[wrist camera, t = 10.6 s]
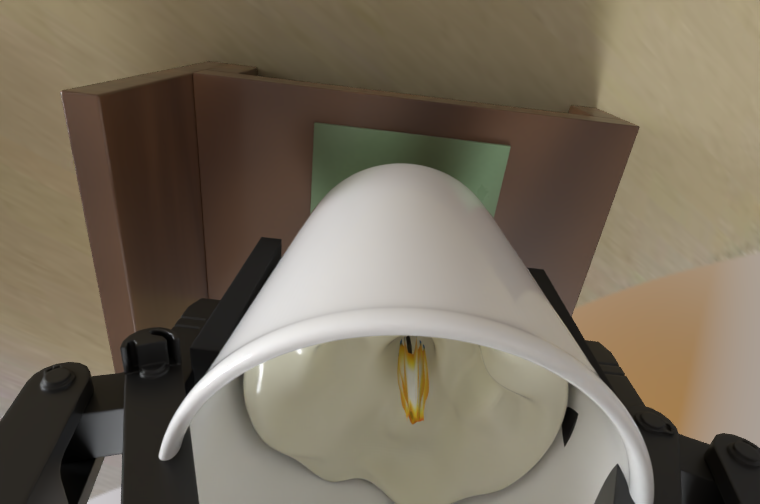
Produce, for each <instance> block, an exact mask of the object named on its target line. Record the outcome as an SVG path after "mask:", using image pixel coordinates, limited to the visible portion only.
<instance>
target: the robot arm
mask: <svg viewBox="0 0 760 504" xmlns="http://www.w3.org/2000/svg"><path fill="white" fill-rule="evenodd" d="M281 249H282V239H276V238H267V237H261V238H260V240H259V241H258V243H257V245H256V246H255V248H254V249H253V251H252V252H251V254H250V255H249V257H248V258H247V260H246V261H245V263H244V265H243V266H242V268H241V269H240V271H239V272H238V274H237V275H236V277H235V278H234V280H233V282H232V283H231V285H230V286H229V288H228V289H227V291H226V292H225V294H224V295H223V297H222V298H221V300H216V299H207V298H201V299H199V300H198V301H196V302H194V303H193V304H191V305H190V306H188V308H187V309H186V310H185V312H184V313H183V314H182V316H181V318H179V320H178V321H177V322H176V324H175V327H174V326H173V328H172V329H168V328H163V327H153V328H146V329H143V330H139V331H137V332H135V333H133V334H131V335H129V336H128V337H127V338H126V339H125V340H124V341H123V342H122V344H121V347H120V351H121V357H122V362H123V368H124V372H122V373H116V374H109V375H100V376H91V374H90V371H89V369H88V368H87V366H85V365H83V364H81V363H74V362H66V363H60V364H55V365H52V366H50V367H47V368H44V369H42V370H41V371H39V372H37V373H36V374H34V375H33V376H32V377H31V378H30V379H29V380H28V381H27V382H26V384H25V385H24V387H23V388H22V390H21V391H20V393H19V394H18V396H17V397H16V399H15V400H14V402H13V403H12V405H11V406H10V408H9V409H8V411H7V412H6V414H5V415H4V417H3V418H2V420H1V421H0V504H87V502H88V499H89V496H90V494H91V491H92V489H93V486H94V483H95V481H96V478H97V476H98V473H99V470H100V468H101V465H102V463H103V460H104V457H105V456H111V455H117V454H122V483H121V504H199V497H198V489H197V481H196V473H195V465H194V456H193V448H192V440H191V432H190V425H189V427H188V429H187V431H186V433H185V436H184V439H183V442H182V445H181V448H180V449H179V451H178V453H177V454H176V455H175V456H174V457H173V458H171V459H170V460H166V461H163V460H160V459H159V451H160V447H161V444H162V440H163V438H164V435H165V432H166V430H167V428H168V425H169V423H170V421H171V419H172V418H173V416H174V414H175V412H176V411H177V409H178V407H179V406H180V404H181V403H182V401H183V400H184V399H185V397H186V396H187V395H188V393H189V392H190V391H191V390H192V388H193V387H194V386H195V385H196V384H197V383H198V382H199V381H200V380H201V378H202V377H203V376H204V375H205V373H206V372H207V371H208V369H209V368H210V366H211V365H212V363H213V361H214V360H215V358H216V357H217V355H218V354H219V352H220V351H221V349H222V348H223V346H224V345H225V343H226V342H227V340H228V339H229V337H230V336H231V334H232V332H233V331H234V329H235V328H236V326H237V325H238V323H239V322H240V320H241V319H242V317H243V316H244V314H245V313H246V311H247V310H248V308H249V306H250V305H251V303H252V302H253V300H254V299H255V297H256V296H257V294H258V293H259V291H260V290H261V288H262V287H263V285H264V283H265V282H266V280H267V279H268V277H269V276H270V274H271V273H272V271H273V270H274V268H275V267H276V265H277V264H278V262H279V260H280V259H281ZM528 270H529V271H530V273H531V274H532V276H533V277H534V279H535V280H536V282H537V283H538V285H539V286H540V288H541V289H542V291H543V292H544V294H545V295H546V297H547V298H548V300H549V301H550V303H551V304H552V306H553V307H554V309H555V310H556V312H557V313H558V315H559V316H560V318H561V319H562V321H563V322H564V324H565V325H566V327H567V328H568V330H569V331H570V333H571V334H572V336H573V337H574V339H575V340H576V342H577V343H578V345H579V346H580V348H581V349H582V351H583V352H584V354H585V355H586V357H587V358H588V360H589V361H590V363H591V364H592V366H593V367H594V369H595V370H596V372H597V373H598V375H599V376H600V378H601V379H602V380H603V382H604V383H605V384H606V385H607V386H608V387H609V388H610V389H611V390H612V391H613V392H614V394H615V395H616V396H617V397H618V398H619V400H620V401H621V402H622V403H623V405H624V406H625V407H626V409H627V410H628V412H629V413H630V415H631V416H632V418H633V420H634V421H635V423H636V425H637V427H638V429H639V430H640V433H641V435H642V437H643V439H644V441H645V444H646V447H647V449H648V452H649V456H650V459H651V464H652V468H653V475H654V503H653V504H760V448H759V447H757V446H756V445H755V444H753V443H751V442H750V441H748V440H746V439H744V438H741V437H738V436H735V435H732V434H725V433H722V434H718V435H716V436H715V438H714V439H713V441H712V442H711V444H710V445H709V444H707V443H704V442H700V441H698V440H695V439H691V438H689V437H686V436H683V435H680V434H678V431H677V428H676V427H675V426H674V425H673V424H672V422H671V421H670V420H669V419H668V418H666V417H665V416H664V415H663V414H661V413H659V412H657V411H655V410H654V409H651V408H649V407H646V406H645V405H644V403H643V402H642V400H641V399H640V397H639V395H638V394H637V392H636V391H635V389H634V388H633V386H632V385H631V383H630V381H629V380H628V378H627V377H626V376H625V374H624V372H623V371H622V369H621V367H619V365H618V363H617V361H616V359H615V358H614V356H613V355H612V353H611V352H610V351H609V350H607V349H606V348H605V347H604V346H603V345H602V344H600V343H599V342H595V341H586V340H584V338H583V336H582V334H581V333H580V331H579V329H578V327H577V326H576V324H575V322H574V321H573V319H572V317H571V315H570V314H569V312H568V310H567V308H566V307H565V305H564V303H563V302H562V300H561V298H560V296H559V295H558V293H557V291H556V290H555V288H554V286H553V284H552V283H551V281H550V279H549V278H548V276H547V274H546V272H545V271H544V269H536V268H528ZM577 418H578V413H577V412H576V411H575V410H574V409H572V408H570V407H567V408H566V412H565V416H564V419H563V422H562V435H563V442H564V447H565V446H566V444H567V442H568V440H569V439H570V437H571V434H572V432H573V430H574V427H575V424H576V421H577ZM594 504H635V502H634V501H633V499H632V497H631V495H630V493H629V488H628V484H627V481H626V479H625V477H624V474H623V472H622V470H621V468H620V466H619V465H618V463H617V464H616V465H615V467H614V468H613V469H612V470H611V472H610V473H609V475H608V477H607V478H606V480H605V482H604V484H603V486H602V488H601V490H600V492H599V494H598V496H597V498H596V500H595V503H594Z"/></svg>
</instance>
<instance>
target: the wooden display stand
mask: <svg viewBox="0 0 760 504" xmlns="http://www.w3.org/2000/svg"><path fill="white" fill-rule="evenodd" d="M61 98H62V103H63V108H64V113H65V119H66V124H67V129H68V134H69V139H70V144H71V149H72V154H73V159H74V164H75V170H76V175H77V180H78V185H79V190H80V195H81V200H82V205H83V210H84V216H85V221H86V226H87V231H88V236H89V241H90V246H91V251H92V256H93V262H94V267H95V272H96V277H97V282H98V287H99V292H100V297H101V302H102V308H103V313H104V318H105V323H106V328H107V333H108V338H109V343H110V348H111V354H112V359H113V364H114V369H115V374H116V373H122V372H124V368H123V362H122V357H121V351H120V347H121V344H122V342H123V341H124V340H125V339H126V338H127V337H128V336H129V335H131V334H133V333H135V332H137V331H139V330H143V329H146V328H153V327H163V328H168V329H172V328H173V326H174V327H175V324H176V322H177V321H178V320H179V318H181V316H182V314H183V313H184V312H185V310H186V309H187V308H188V306H190V305H191V304H193V303H194V302H196V301H198V300H199V299H201V298H207V299H216V300H221V298H222V297H223V295H224V294H225V292H226V291H227V289H228V288H229V286H230V285H231V283H232V282H233V280H234V278H235V277H236V275H237V274H238V272H239V271H240V269H241V268H242V266H243V265H244V263H245V261H246V260H247V258H248V257H249V255H250V254H251V252H252V251H253V249H254V248H255V246H256V245H257V243H258V241H259V240H260V238H261V237H267V238H276V239H282V249H281V257H282V256H283V254H284V253H285V251H286V250H287V248H288V247H289V245H290V244H291V242H292V241H293V239H294V238H295V236H296V235H297V233H298V232H299V230H300V228H301V227H302V225H303V224H304V223H305V221H306V220H307V218H308V217H309V215H310V214H311V212H312V211H313V210H314V208H315V207H316V205H317V204H318V203H319V202H320V200H321V199H322V198H323V197H324V196H325V195H326V194H327V193H328V192H329V191H330V190H331V189H332V188H333V187H335V186H336V185H337V184H338V183H340V182H341V181H343V180H344V179H346V178H347V177H349V176H351V175H353V174H355V173H357V172H359V171H362V170H365V169H367V168H371V167H374V166H379V165H384V164H393V163H408V164H417V165H422V166H427V167H430V168H434V169H436V170H439V171H442V172H444V173H446V174H448V175H450V176H452V177H454V178H455V179H457V180H458V181H460V182H461V183H463V184H464V185H465V186H466V187H468V188H469V189H470V190H471V191H472V192H473V193H474V194H475V195H476V196H477V197H478V198H479V199H480V200H481V202H482V203H483V204H484V205H485V207H486V208H487V209H488V211H489V212H490V213H491V215H492V216H493V218H494V219H495V221H496V222H497V224H498V225H499V226H500V228H501V229H502V231H503V232H504V234H505V235H506V237H507V238H508V240H509V241H510V243H511V244H512V246H513V247H514V249H515V250H516V252H517V253H518V255H519V256H520V258H521V259H522V261H523V262H524V264H525V265H526V267H527V268H536V269H544V271H545V272H546V274H547V276H548V278H549V279H550V281H551V283H552V284H553V286H554V288H555V290H556V291H557V293H558V295H559V296H560V298H561V300H562V302H563V303H564V305H565V307H566V308H567V310H568V312H569V314H570V315H571V317H572V314H573V311H574V308H575V305H576V303H577V300H578V297H579V294H580V292H581V289H582V286H583V283H584V280H585V278H586V275H587V272H588V269H589V266H590V264H591V261H592V258H593V255H594V253H595V250H596V247H597V244H598V241H599V239H600V236H601V233H602V230H603V227H604V225H605V222H606V219H607V216H608V214H609V211H610V208H611V205H612V202H613V200H614V197H615V194H616V191H617V188H618V186H619V183H620V180H621V177H622V175H623V172H624V169H625V166H626V163H627V161H628V158H629V155H630V152H631V149H632V147H633V144H634V141H635V138H636V136H637V133H638V130H639V126H637V125H635V124H632V123H630V122H628V121H625V120H623V119H620V118H618V117H616V116H613V115H611V114H609V113H607V112H604V111H602V110H600V109H597V108H592V107H584V106H575V105H571V106H570V109H569V112H568V113H560V112H552V111H544V110H536V109H527V108H519V107H511V106H502V105H494V104H486V103H478V102H469V101H461V100H453V99H444V98H436V97H428V96H419V95H411V94H403V93H395V92H386V91H378V90H370V89H361V88H353V87H345V86H336V85H328V84H320V83H312V82H303V81H295V80H287V79H278V78H270V77H262V76H257V67H252V66H244V65H236V64H227V63H219V62H211V61H208V62H203V63H198V64H192V65H187V66H182V67H177V68H172V69H167V70H162V71H157V72H152V73H147V74H142V75H137V76H132V77H127V78H122V79H117V80H112V81H107V82H102V83H97V84H92V85H87V86H82V87H77V88H72V89H67V90H62V91H61Z"/></svg>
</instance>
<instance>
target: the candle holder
mask: <svg viewBox="0 0 760 504" xmlns="http://www.w3.org/2000/svg"><path fill="white" fill-rule="evenodd" d="M567 407H570V408H572V409H574V410H575V411H576V412H577V413H578V418H577V421H576V424H575V427H574V430H573V432H572V434H571V437H570V439H569V440H568V442H567V444H566V446H565V447H564V442H563V435H562V422H563V419H564V416H565V412H566V408H567ZM189 425H190V432H191V440H192V448H193V456H194V465H195V473H196V481H197V489H198V497H199V504H594V503H595V500H596V498H597V496H598V494H599V492H600V490H601V488H602V486H603V484H604V482H605V480H606V478H607V477H608V475H609V473H610V472H611V470H612V469H613V468H614V467H615V465H616V464H617V463H618V465H619V466H620V468H621V470H622V472H623V474H624V477H625V479H626V481H627V484H628V488H629V493H630V495H631V497H632V499H633V501H634V502H635V504H653V503H654V475H653V468H652V464H651V459H650V456H649V452H648V449H647V447H646V444H645V441H644V439H643V437H642V435H641V433H640V430H639V429H638V427H637V425H636V423H635V421H634V420H633V418H632V416H631V415H630V413H629V412H628V410H627V409H626V407H625V406H624V405H623V403H622V402H621V401H620V400H619V398H618V397H617V396H616V395H615V394H614V392H613V391H612V390H611V389H610V388H609V387H608V386H607V385H606V384H605V383H604V382H603V380H602V379H601V378H600V376H599V375H598V373H597V372H596V370H595V369H594V367H593V366H592V364H591V363H590V361H589V360H588V358H587V357H586V355H585V354H584V352H583V351H582V349H581V348H580V346H579V345H578V343H577V342H576V340H575V339H574V337H573V336H572V334H571V333H570V331H569V330H568V328H567V327H566V325H565V324H564V322H563V321H562V319H561V318H560V316H559V315H558V313H557V312H556V310H555V309H554V307H553V306H552V304H551V303H550V301H549V300H548V298H547V297H546V295H545V294H544V292H543V291H542V289H541V288H540V286H539V285H538V283H537V282H536V280H535V279H534V277H533V276H532V274H531V273H530V271H529V270H528V268H527V267H526V265H525V264H524V262H523V261H522V259H521V258H520V256H519V255H518V253H517V252H516V250H515V249H514V247H513V246H512V244H511V243H510V241H509V240H508V238H507V237H506V235H505V234H504V232H503V231H502V229H501V228H500V226H499V225H498V224H497V222H496V221H495V219H494V218H493V216H492V215H491V213H490V212H489V211H488V209H487V208H486V207H485V205H484V204H483V203H482V202H481V200H480V199H479V198H478V197H477V196H476V195H475V194H474V193H473V192H472V191H471V190H470V189H469V188H468V187H466V186H465V185H464V184H463V183H461V182H460V181H458V180H457V179H455V178H454V177H452V176H450V175H448V174H446V173H444V172H442V171H439V170H436V169H434V168H430V167H427V166H422V165H417V164H408V163H393V164H384V165H379V166H374V167H371V168H367V169H365V170H362V171H359V172H357V173H355V174H353V175H351V176H349V177H347V178H346V179H344V180H343V181H341V182H340V183H338V184H337V185H336V186H335V187H333V188H332V189H331V190H330V191H329V192H328V193H327V194H326V195H325V196H324V197H323V198H322V199H321V200H320V202H319V203H318V204H317V205H316V207H315V208H314V210H313V211H312V212H311V214H310V215H309V217H308V218H307V220H306V221H305V223H304V224H303V225H302V227H301V228H300V230H299V232H298V233H297V235H296V236H295V238H294V239H293V241H292V242H291V244H290V245H289V247H288V248H287V250H286V251H285V253H284V254H283V256H282V257H281V259H280V260H279V262H278V264H277V265H276V267H275V268H274V270H273V271H272V273H271V274H270V276H269V277H268V279H267V280H266V282H265V283H264V285H263V287H262V288H261V290H260V291H259V293H258V294H257V296H256V297H255V299H254V300H253V302H252V303H251V305H250V306H249V308H248V310H247V311H246V313H245V314H244V316H243V317H242V319H241V320H240V322H239V323H238V325H237V326H236V328H235V329H234V331H233V332H232V334H231V336H230V337H229V339H228V340H227V342H226V343H225V345H224V346H223V348H222V349H221V351H220V352H219V354H218V355H217V357H216V358H215V360H214V361H213V363H212V365H211V366H210V368H209V369H208V371H207V372H206V373H205V375H204V376H203V377H202V378H201V380H200V381H199V382H198V383H197V384H196V385H195V386H194V387H193V388H192V390H191V391H190V392H189V393H188V395H187V396H186V397H185V399H184V400H183V401H182V403H181V404H180V406H179V407H178V409H177V411H176V412H175V414H174V416H173V418H172V419H171V421H170V423H169V425H168V428H167V430H166V432H165V435H164V438H163V440H162V444H161V447H160V451H159V459H160V460H163V461H166V460H170V459H171V458H173V457H174V456H175V455H176V454H177V453H178V451H179V449H180V448H181V445H182V442H183V439H184V436H185V433H186V431H187V429H188V427H189Z"/></svg>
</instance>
